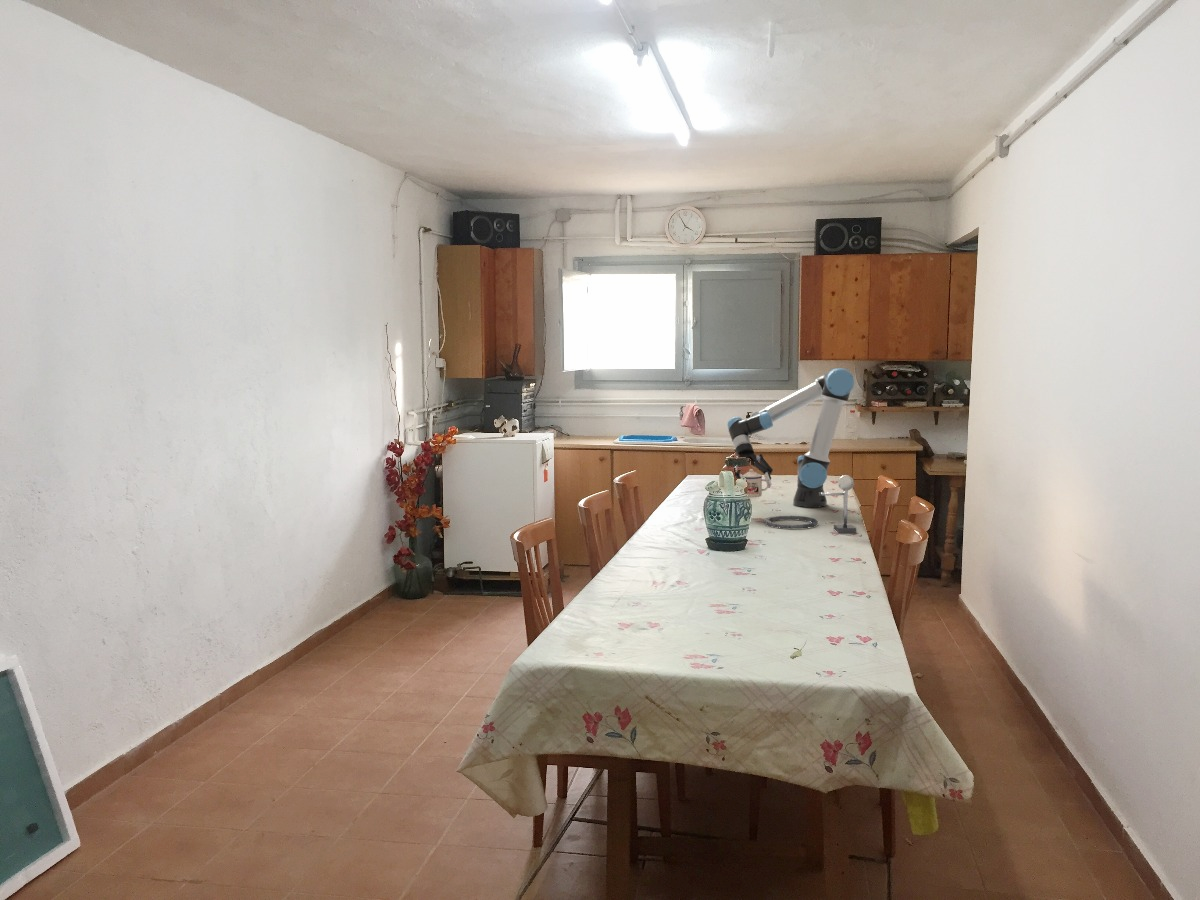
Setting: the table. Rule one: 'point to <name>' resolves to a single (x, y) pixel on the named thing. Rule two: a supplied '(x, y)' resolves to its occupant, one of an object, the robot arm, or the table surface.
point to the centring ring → (767, 522)
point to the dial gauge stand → (845, 484)
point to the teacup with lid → (754, 483)
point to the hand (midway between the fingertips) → (756, 487)
